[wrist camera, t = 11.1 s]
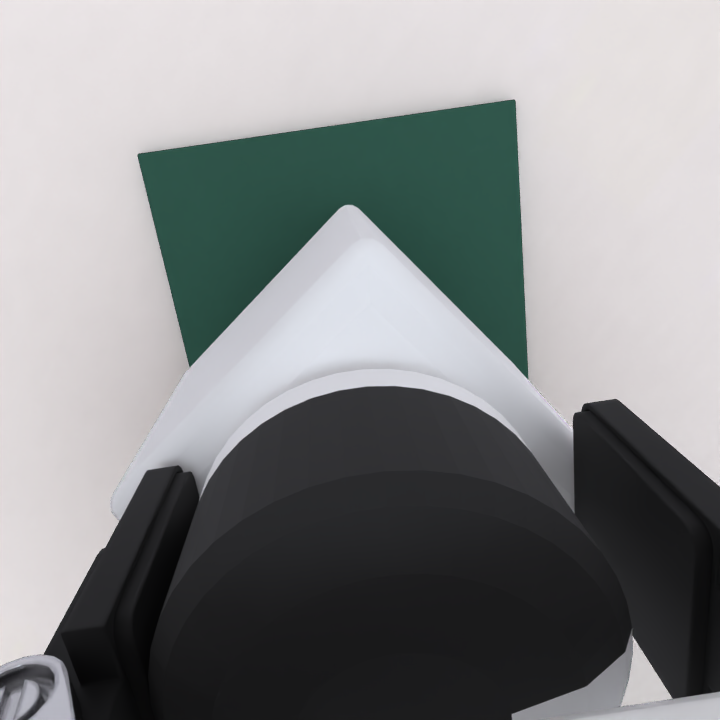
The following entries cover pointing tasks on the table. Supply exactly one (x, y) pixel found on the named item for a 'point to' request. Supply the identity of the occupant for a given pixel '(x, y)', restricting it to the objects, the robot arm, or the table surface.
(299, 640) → the medicine bottle
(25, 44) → the table surface
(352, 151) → the cutting mat
